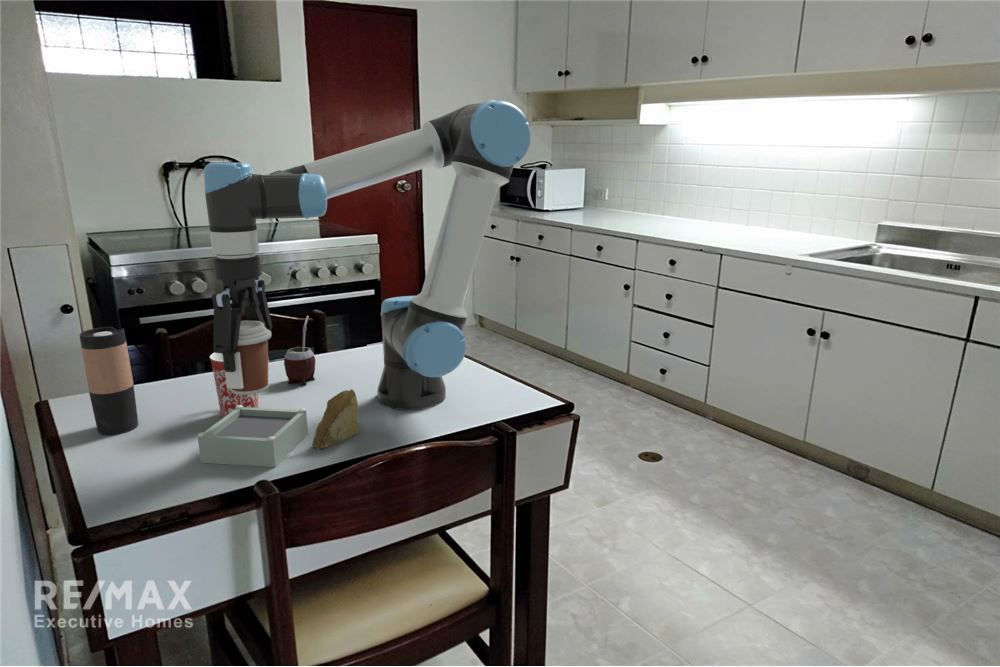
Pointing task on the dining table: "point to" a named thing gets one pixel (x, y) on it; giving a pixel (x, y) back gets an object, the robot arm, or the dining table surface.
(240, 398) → the mug
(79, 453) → the dining table surface
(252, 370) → the coffee cup
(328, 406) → the rock
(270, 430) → the pale green square tray
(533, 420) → the dining table surface
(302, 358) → the mate gourd
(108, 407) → the travel mug
